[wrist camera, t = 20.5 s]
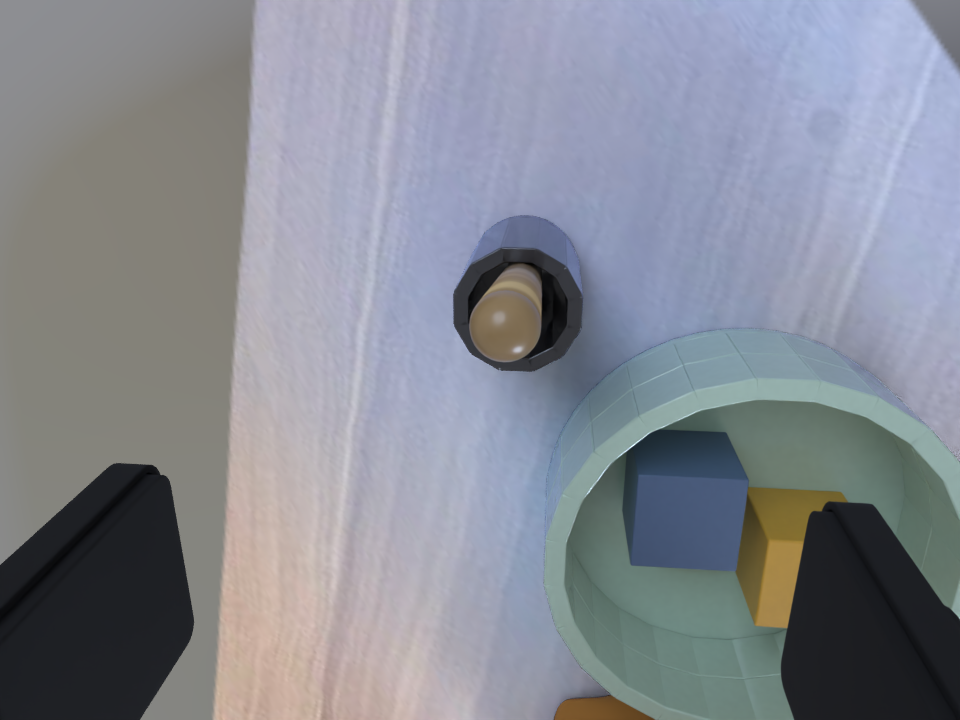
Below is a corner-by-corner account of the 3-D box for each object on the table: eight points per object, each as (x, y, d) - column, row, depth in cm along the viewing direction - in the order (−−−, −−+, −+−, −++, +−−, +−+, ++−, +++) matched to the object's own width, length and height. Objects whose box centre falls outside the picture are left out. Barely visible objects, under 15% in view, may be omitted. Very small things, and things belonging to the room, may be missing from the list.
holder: (472, 213, 30) (452, 246, 24) (580, 216, 29) (585, 249, 24) (472, 316, 31) (453, 369, 25) (575, 319, 31) (579, 374, 25)
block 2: (743, 485, 32) (768, 540, 28) (841, 490, 32) (880, 546, 28) (732, 565, 33) (754, 626, 30) (825, 571, 33) (860, 634, 29)
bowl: (552, 321, 31) (551, 370, 26) (954, 334, 29) (1038, 388, 24) (540, 631, 36) (538, 722, 31) (879, 653, 35) (934, 753, 30)
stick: (507, 255, 30) (465, 293, 14) (542, 255, 30) (542, 294, 14) (506, 290, 30) (465, 366, 14) (541, 291, 30) (539, 370, 14)
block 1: (628, 427, 32) (637, 474, 28) (726, 431, 31) (749, 479, 27) (621, 510, 33) (630, 566, 29) (715, 515, 33) (736, 572, 29)
